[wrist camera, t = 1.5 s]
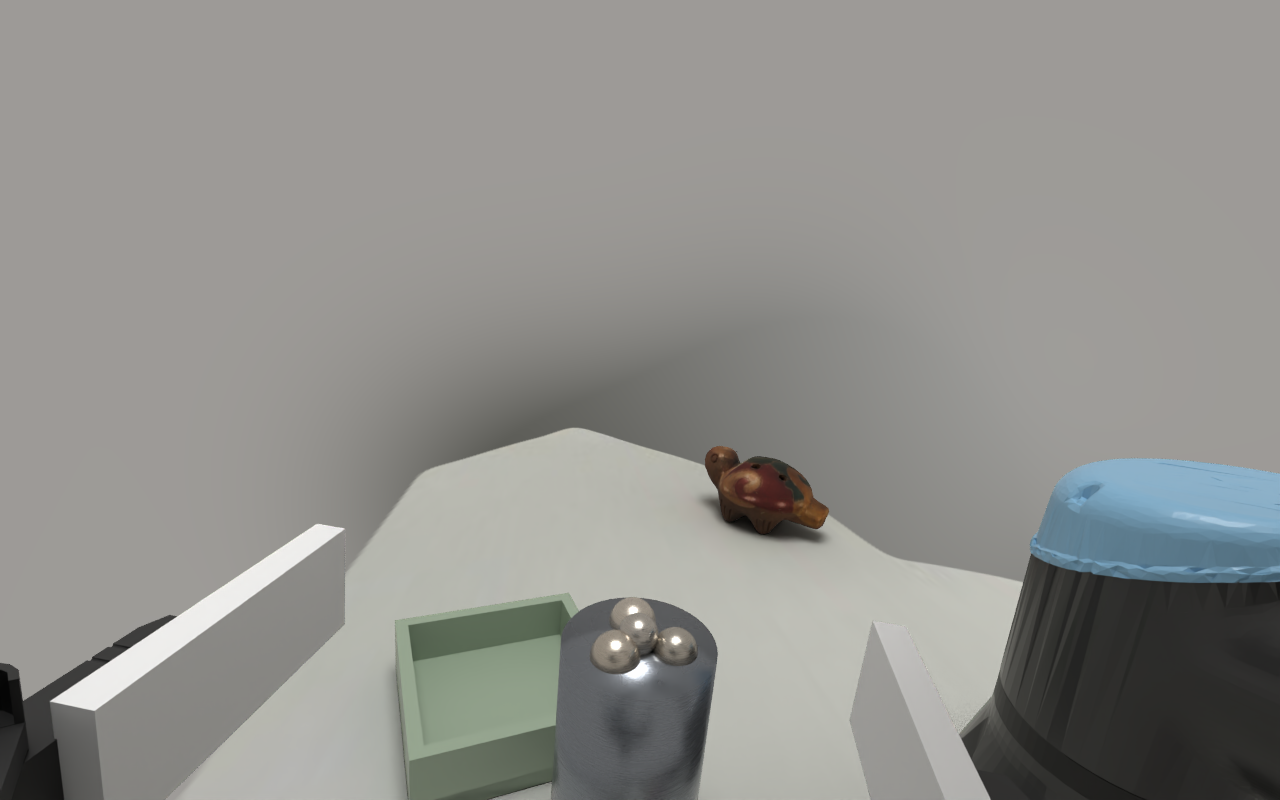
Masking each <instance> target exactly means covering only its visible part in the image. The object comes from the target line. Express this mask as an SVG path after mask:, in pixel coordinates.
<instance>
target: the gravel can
mask: <svg viewBox="0 0 1280 800" xmlns="http://www.w3.org/2000/svg"><path fill="white" fill-rule="evenodd" d="M717 656H718V652H717V646H716V643H715V640H714V638H713V636H712V634H711V633H710V631H709V630H708V629H707V628H706V626H705V625H704V624H703V623H702V622H700V621H699V620H698V619H697V618H696V617H694V616H693V615H691V614H690V613H688V612H686V611H684V610H682V609H680V608H678V607H676V606H673V605H670V604H667V603H664V602H660V601H657V600H651V599H644V598H637V597H629V598H617V599H610V600H605V601H601V602H598V603H595V604H592V605H590V606H588V607H586V608H584V609H582V610H580V611H579V612H578V613H576V614H575V615H574V616H573V617H572V618H571V619H570V620H569V621H568V623H567V624H566V625H565V627H564V629H563V632H562V635H561V645H560V662H559V678H558V694H557V710H556V726H555V743H554V759H553V775H552V791H551V800H698V794H699V787H700V779H701V772H702V765H703V758H704V751H705V743H706V736H707V729H708V722H709V715H710V707H711V700H712V693H713V686H714V679H715V671H716V664H717Z"/></svg>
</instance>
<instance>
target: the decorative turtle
mask: <svg viewBox="0 0 1280 800" xmlns="http://www.w3.org/2000/svg"><path fill="white" fill-rule="evenodd" d="M705 467H706V469H707V472H708V475H709V477H710V479H711V481H712V482H713V484H714V485H715V486H716V488H717V489H718V494H719V500H720V506H721V511H722V515H723V517H724V519H725V520H726V521H728V522H732V521H735V520H737V519H739V518H741V517H742V516H747V517H748V518H749V519H750V520H751V522H752V524H753V526H754V527H755V529H756V530H757V531H758V532H759V533H760V534H767V533H769V532H770V531H771V530H772V529H773V528H774V527H775V526H776V525H777V524H778V523H779V522H780V521H782V520H789V521H791V522H794V523H798V524H801V525H804V526H807V527H810V528H813V529H818V528H820V527H821V526H823V524H824V522H825V519H826V517H827V515H828V513H829V509H828V508H827V507H826V506H825V505H823V504H821V503H820V502H818V501H817V500H816V499H814V498H813V494H812V489H811V487H810V485H809V483H808V482H807V480H806V479H805V478H804V477H803V475H802V474H800V473H799V472H798V471H797V470H795V469H794V468H792V467H791V466H789V465H788V464H786V463H784V462H781V461H780V460H777V459H773V458H767V457H761V456H757V457H752V458H750V459H748V460H747V461H744V462H743V463H740V461H739V459H738V456H737V454H736V452H735V451H734V450H732V449H731V448H728V447H723V446H717V447H714V448H712V449H711V450H710V451H709V452H708V453H707V455H706V458H705Z"/></svg>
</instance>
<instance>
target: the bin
mask: <svg viewBox="0 0 1280 800" xmlns="http://www.w3.org/2000/svg"><path fill="white" fill-rule="evenodd" d="M578 612H579V611H578V609H577V607H576V605H575V603H574V601H573V600H572V598H571V596H570V594H569V593H565V594H559V595H552V596H546V597H540V598H533V599H527V600H521V601H515V602H508V603H502V604H496V605H489V606H483V607H477V608H471V609H464V610H458V611H452V612H445V613H439V614H433V615H427V616H420V617H414V618H408V619H401V620H395V647H396V676H397V687H398V697H399V708H400V719H401V730H402V741H403V751H404V762H405V773H406V784H407V795H408V800H486V799H490V798H494V797H497V796H501V795H504V794H508V793H511V792H515V791H518V790H522V789H526V788H529V787H533V786H536V785H540V784H543V783H547V782H550V781H552V775H553V759H554V743H555V726H556V710H557V694H558V678H559V662H560V645H561V635H562V632H563V629H564V627H565V625H566V624H567V623H568V621H569V620H570V619H571V618H572V617H573V616H574V615H575V614H576V613H578Z"/></svg>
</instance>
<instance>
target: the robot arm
mask: <svg viewBox="0 0 1280 800" xmlns="http://www.w3.org/2000/svg"><path fill="white" fill-rule="evenodd" d="M1030 546H1031V547H1030V551H1031V556H1030V560H1029V564H1028V567H1027V571H1026V575H1025V579H1024V582H1023V586H1022V589H1021V593H1020V597H1019V601H1018V604H1017V608H1016V612H1015V615H1014V619H1013V623H1012V626H1011V630H1010V634H1009V637H1008V641H1007V645H1006V648H1005V652H1004V656H1003V659H1002V663H1001V668H1000V672H999V675H998V679H997V682H996V686H995V689H994V692H993V695H992V697H991V698H990V699H989V700H988V701H987V702H986V704H985V705H984V706H983V707H982V708H981V709H980V710H979V712H978V713H977V714H976V715H975V716H974V717H973V719H972V720H971V721H970V722H969V723H968V724H967V725H966V727H965V728H964V729H963V730H962V731H961V732H960V734H959V733H958V731H957V729H956V727H955V725H954V723H953V721H952V719H951V717H950V715H949V713H948V711H947V709H946V707H945V705H944V703H943V701H942V699H941V697H940V694H939V692H938V690H937V688H936V686H935V684H934V682H933V680H932V678H931V676H930V674H929V672H928V670H927V668H926V666H925V664H924V662H923V660H922V658H921V656H920V653H919V651H918V649H917V647H916V645H915V643H914V641H913V639H912V637H911V635H910V633H909V631H908V629H907V627H906V626H901V625H895V624H890V623H884V622H878V621H872V626H871V630H870V634H869V639H868V643H867V647H866V651H865V656H864V660H863V664H862V669H861V673H860V677H859V682H858V686H857V690H856V695H855V699H854V703H853V707H852V712H851V716H850V723H851V727H852V731H853V735H854V738H855V742H856V746H857V750H858V753H859V757H860V761H861V764H862V768H863V772H864V776H865V779H866V783H867V787H868V791H869V794H870V798H871V800H1280V474H1277V473H1272V472H1266V471H1261V470H1255V469H1248V468H1242V467H1235V466H1228V465H1221V464H1212V463H1203V462H1194V461H1184V460H1170V459H1146V458H1137V459H1136V458H1132V459H1112V460H1104V461H1097V462H1092V463H1089V464H1086V465H1083V466H1080V467H1078V468H1075V469H1074V470H1072V471H1070V472H1068V473H1067V474H1066V475H1064V476H1063V477H1062V478H1061V479H1060V480H1059V482H1058V483H1057V484H1056V486H1055V488H1054V490H1053V492H1052V495H1051V497H1050V500H1049V503H1048V506H1047V508H1046V511H1045V514H1044V517H1043V519H1042V522H1041V525H1040V528H1039V531H1038V532H1037V533H1036V534H1035V535H1034V536H1033V537H1032V539H1031V542H1030ZM344 624H345V529H344V528H338V527H333V526H327V525H321V524H316V525H314V526H313V527H312V528H310V529H308V530H307V531H306V532H304V533H303V534H301V535H299V536H298V537H296V538H295V539H293V540H292V541H290V542H289V543H287V544H286V545H285V546H283V547H281V548H280V549H279V550H277V551H275V552H274V553H272V554H271V555H269V556H268V557H266V558H265V559H263V560H262V561H260V562H259V563H257V564H256V565H254V566H253V567H251V568H250V569H248V570H247V571H245V572H244V573H242V574H241V575H239V576H238V577H236V578H235V579H233V580H232V581H230V582H229V583H227V584H226V585H224V586H223V587H221V588H220V589H218V590H217V591H215V592H214V593H212V594H211V595H209V596H208V597H206V598H205V599H203V600H202V601H200V602H199V603H197V604H196V605H194V606H193V607H191V608H190V609H188V610H187V611H185V612H184V613H182V614H181V615H179V616H178V617H177V616H171V615H169V616H166V617H164V618H161V619H159V620H156V621H154V622H151V623H149V624H146V625H144V626H141V627H139V628H137V629H136V630H134V631H132V632H131V633H129V634H128V635H126V636H125V637H123V638H121V639H120V640H118V641H117V642H115V643H113V646H112V647H107V648H106V649H104V650H103V651H101V652H99V653H98V654H96V655H95V656H93V657H92V660H91V661H85V662H84V663H82V664H81V665H79V666H78V667H76V668H74V669H73V670H71V671H70V672H68V673H67V674H65V675H63V676H62V677H60V678H59V679H57V680H56V681H54V682H52V683H51V684H49V685H48V686H46V687H45V688H43V689H42V690H40V691H38V692H37V693H35V694H34V695H33V696H31V697H29V698H27V699H26V700H24V701H23V699H22V692H21V684H20V677H19V670H18V669H16V668H15V667H13V666H12V665H10V664H3V663H0V800H165V799H166V798H167V797H168V796H169V795H170V794H171V793H172V792H173V791H174V790H175V789H176V788H177V787H178V786H180V785H181V783H183V782H184V781H185V780H186V779H187V778H188V777H189V776H190V775H191V774H192V773H193V772H194V771H195V770H196V769H197V768H198V767H199V766H200V765H201V764H202V763H203V762H204V761H205V760H206V759H207V758H208V757H209V756H210V755H211V754H212V753H213V752H214V751H215V750H216V749H217V748H218V747H219V746H220V745H221V744H222V743H224V742H225V741H226V740H227V739H228V738H229V737H230V736H231V735H232V734H233V733H234V732H235V731H236V730H237V729H238V728H239V727H240V726H241V725H242V724H243V723H244V722H245V721H246V720H247V719H248V718H249V717H250V716H251V715H252V714H253V713H254V712H255V711H256V710H257V709H258V708H259V707H260V706H261V705H262V704H263V703H264V702H265V701H266V700H268V699H269V698H270V697H271V696H272V695H273V694H274V693H275V692H276V691H277V690H278V689H279V688H280V687H281V686H282V685H283V684H284V683H285V682H286V681H287V680H288V679H289V678H290V677H291V676H292V675H293V674H294V673H295V672H296V671H297V670H298V669H299V668H300V667H301V666H302V665H303V664H304V663H305V662H306V661H307V660H308V659H309V658H310V657H312V656H313V655H314V654H315V653H316V652H317V651H318V650H319V649H320V648H321V647H322V646H323V645H324V644H325V643H326V642H327V641H328V640H329V639H330V638H331V637H332V636H333V635H334V634H335V633H336V632H337V631H338V630H339V629H340V628H341V627H342V626H343V625H344Z"/></svg>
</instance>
